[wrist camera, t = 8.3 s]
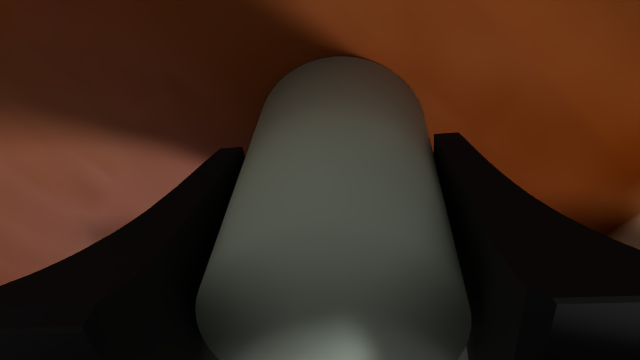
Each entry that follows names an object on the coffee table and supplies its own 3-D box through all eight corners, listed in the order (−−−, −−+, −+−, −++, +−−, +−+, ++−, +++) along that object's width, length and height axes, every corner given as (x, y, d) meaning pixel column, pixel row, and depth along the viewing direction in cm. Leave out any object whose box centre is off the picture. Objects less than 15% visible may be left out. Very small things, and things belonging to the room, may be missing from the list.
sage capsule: (426, 47, 13) (482, 218, 7) (424, 196, 16) (463, 403, 10) (243, 64, 13) (158, 233, 8) (274, 204, 16) (229, 403, 10)
